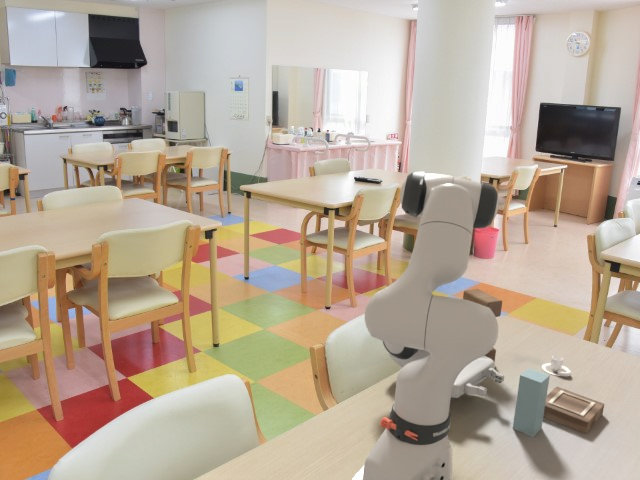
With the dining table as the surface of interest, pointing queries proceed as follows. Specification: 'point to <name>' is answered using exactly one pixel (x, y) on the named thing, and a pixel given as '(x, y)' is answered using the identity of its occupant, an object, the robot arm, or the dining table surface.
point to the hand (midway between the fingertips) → (494, 386)
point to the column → (531, 401)
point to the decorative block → (486, 301)
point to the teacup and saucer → (557, 367)
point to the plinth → (572, 409)
